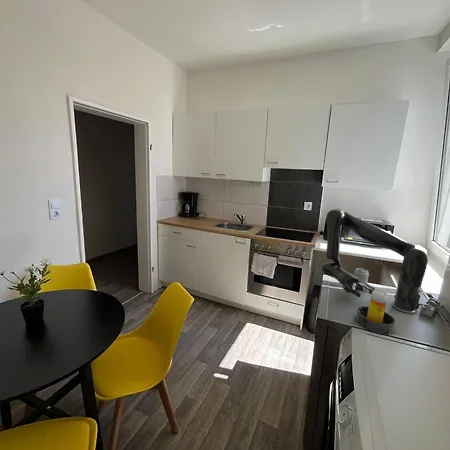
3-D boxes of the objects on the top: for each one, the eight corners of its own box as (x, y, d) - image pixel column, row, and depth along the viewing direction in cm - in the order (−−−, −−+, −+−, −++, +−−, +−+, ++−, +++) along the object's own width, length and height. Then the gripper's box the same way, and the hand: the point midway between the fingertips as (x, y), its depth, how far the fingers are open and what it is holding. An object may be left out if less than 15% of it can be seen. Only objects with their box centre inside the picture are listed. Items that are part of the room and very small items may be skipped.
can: (349, 284, 151) (353, 266, 149) (362, 286, 150) (366, 268, 148) (354, 290, 144) (357, 271, 141) (367, 292, 143) (371, 273, 140)
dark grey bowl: (377, 314, 120) (378, 306, 119) (401, 333, 106) (403, 324, 105) (349, 314, 118) (351, 306, 117) (370, 334, 104) (372, 325, 103)
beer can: (380, 328, 108) (387, 297, 105) (365, 322, 112) (371, 292, 108) (382, 322, 113) (388, 292, 109) (367, 317, 116) (373, 288, 113)
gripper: (336, 273, 130) (355, 288, 115) (361, 273, 132) (383, 288, 117) (334, 286, 132) (352, 302, 116) (358, 286, 134) (380, 302, 118)
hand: (368, 295), depth 116 cm, fingers open, 8 cm apart
